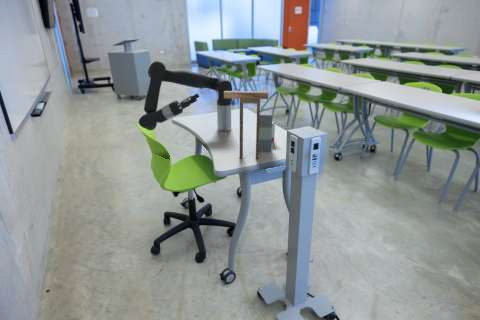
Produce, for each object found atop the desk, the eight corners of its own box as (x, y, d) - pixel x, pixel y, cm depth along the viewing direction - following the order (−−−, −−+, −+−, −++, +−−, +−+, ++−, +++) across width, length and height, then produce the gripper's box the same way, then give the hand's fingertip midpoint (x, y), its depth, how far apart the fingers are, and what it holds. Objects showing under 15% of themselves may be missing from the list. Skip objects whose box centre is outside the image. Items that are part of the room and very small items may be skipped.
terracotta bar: (224, 96, 157) (224, 91, 155) (268, 97, 156) (268, 91, 154) (223, 98, 154) (223, 92, 153) (268, 99, 153) (268, 92, 152)
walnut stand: (240, 154, 171) (240, 96, 158) (258, 154, 170) (260, 96, 157) (239, 158, 165) (239, 99, 152) (258, 159, 165) (260, 99, 152)
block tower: (256, 147, 180) (257, 112, 172) (270, 147, 180) (272, 112, 171) (256, 151, 175) (257, 115, 166) (270, 151, 175) (272, 115, 166)
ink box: (272, 138, 193) (273, 120, 188) (274, 141, 189) (275, 123, 184) (258, 139, 192) (259, 121, 187) (260, 142, 187) (261, 123, 182)
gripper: (165, 107, 164) (191, 93, 161) (171, 101, 177) (195, 88, 174) (173, 119, 167) (199, 106, 164) (178, 112, 180) (202, 99, 177)
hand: (197, 96), depth 169 cm, fingers open, 8 cm apart
